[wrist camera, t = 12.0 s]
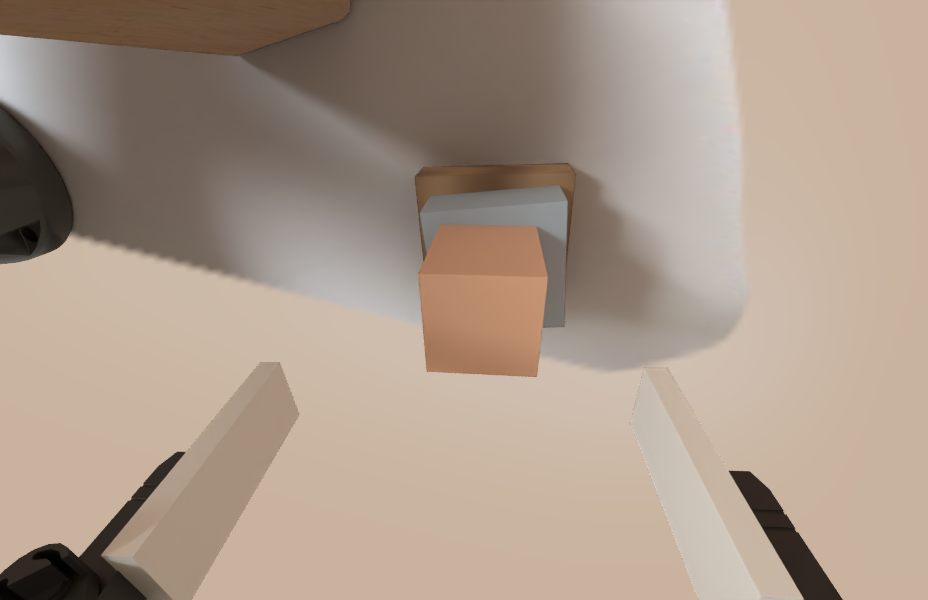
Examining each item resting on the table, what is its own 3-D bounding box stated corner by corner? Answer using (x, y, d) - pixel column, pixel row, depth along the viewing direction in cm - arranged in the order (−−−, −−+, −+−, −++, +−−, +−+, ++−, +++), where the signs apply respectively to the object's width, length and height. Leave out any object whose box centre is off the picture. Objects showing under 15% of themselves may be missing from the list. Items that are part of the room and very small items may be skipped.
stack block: (443, 305, 27) (426, 371, 21) (439, 224, 24) (418, 273, 18) (529, 308, 26) (536, 376, 20) (536, 225, 23) (547, 277, 17)
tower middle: (446, 304, 31) (439, 331, 28) (430, 196, 27) (419, 213, 23) (557, 298, 30) (564, 326, 27) (559, 184, 26) (567, 201, 22)
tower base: (436, 287, 35) (428, 310, 32) (425, 165, 30) (414, 176, 26) (555, 288, 34) (561, 312, 31) (567, 162, 29) (575, 173, 25)
